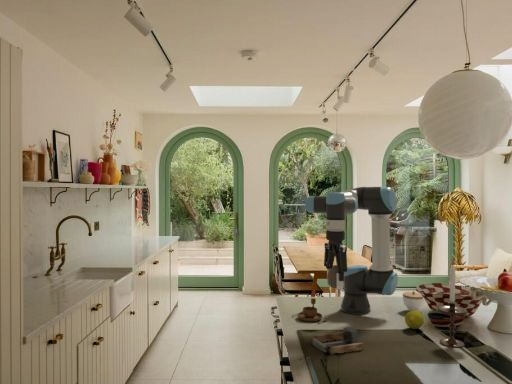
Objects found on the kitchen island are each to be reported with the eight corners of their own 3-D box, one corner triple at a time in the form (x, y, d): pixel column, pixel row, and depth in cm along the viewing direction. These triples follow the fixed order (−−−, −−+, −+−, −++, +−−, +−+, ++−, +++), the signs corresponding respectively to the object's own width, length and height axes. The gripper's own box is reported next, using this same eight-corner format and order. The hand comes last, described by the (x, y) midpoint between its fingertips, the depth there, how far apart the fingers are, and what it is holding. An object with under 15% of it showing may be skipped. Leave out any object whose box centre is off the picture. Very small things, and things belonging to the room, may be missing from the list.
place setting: (287, 317, 208) (287, 305, 208) (311, 308, 223) (311, 297, 222) (317, 325, 196) (317, 312, 196) (340, 316, 211) (340, 304, 211)
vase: (334, 290, 167) (334, 267, 167) (323, 286, 173) (323, 265, 173) (348, 287, 171) (348, 266, 170) (336, 284, 177) (336, 263, 176)
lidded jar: (426, 308, 223) (426, 290, 223) (422, 313, 214) (422, 294, 214) (405, 305, 228) (405, 287, 228) (400, 310, 219) (400, 292, 219)
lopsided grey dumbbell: (347, 340, 175) (347, 325, 175) (360, 347, 166) (360, 332, 166) (312, 344, 169) (312, 329, 169) (324, 353, 161) (324, 337, 161)
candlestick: (441, 337, 179) (442, 255, 178) (469, 344, 172) (470, 257, 171) (433, 345, 170) (434, 258, 170) (462, 351, 163) (463, 261, 163)
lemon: (411, 323, 197) (411, 306, 197) (427, 327, 191) (427, 310, 191) (400, 329, 189) (400, 311, 189) (417, 333, 184) (417, 315, 184)
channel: (343, 338, 177) (343, 331, 177) (363, 351, 163) (363, 343, 163) (313, 342, 172) (313, 335, 172) (331, 356, 159) (331, 348, 159)
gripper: (315, 228, 180) (315, 282, 180) (340, 233, 161) (339, 293, 161) (331, 227, 182) (330, 281, 182) (357, 232, 164) (356, 291, 164)
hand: (335, 286), depth 172 cm, fingers closed on vase, 7 cm apart
